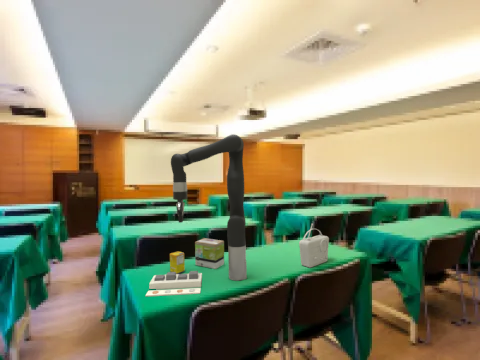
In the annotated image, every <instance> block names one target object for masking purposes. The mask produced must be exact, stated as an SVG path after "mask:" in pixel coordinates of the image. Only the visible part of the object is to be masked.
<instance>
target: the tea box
mask: <svg viewBox="0 0 480 360" xmlns="http://www.w3.org/2000/svg"><path fill="white" fill-rule="evenodd" d="M194 249H195V251H194V255H195V256H194V258H195V259H194V260H195V262H194V263H195V266H199V267H204V268H210V269H213V270H217V269H218V268H220V267H221V266H224V264H225V241H224V240H222V239H221V240H220V239H219V240H218V239H213V238H205V237H202V238H201V239H198V240H197V241H195V242H194Z"/></svg>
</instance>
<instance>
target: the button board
mask: <svg viewBox="0 0 480 360" xmlns="http://www.w3.org/2000/svg"><path fill="white" fill-rule="evenodd" d="M186 274H187V279H185V280H178V275H179V274H176V279H175V280H166V274H164V275H165V279H164V281H155V277H156V275H157V274H155V275H153V277H152V279H151V280H150V282H149V285H148V286H149V288H148V290H149V289H156V290H171V289H190V288H201V287H202V280H203V273H202V272H198V279H189V273H186Z"/></svg>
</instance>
